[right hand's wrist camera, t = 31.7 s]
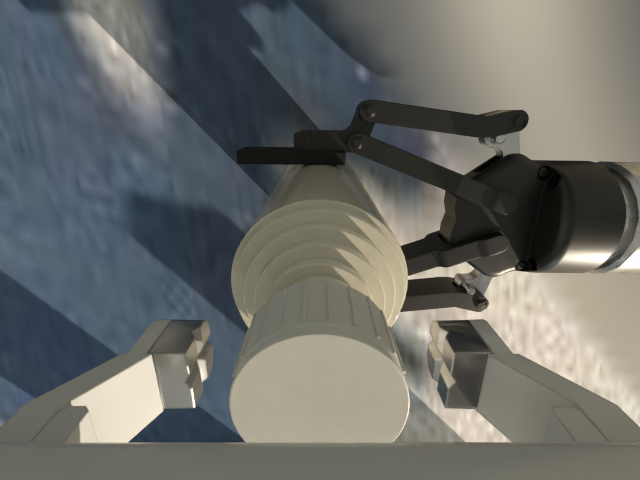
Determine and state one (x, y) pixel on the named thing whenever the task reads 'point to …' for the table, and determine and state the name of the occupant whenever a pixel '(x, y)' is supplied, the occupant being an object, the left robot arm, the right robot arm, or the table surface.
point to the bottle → (319, 242)
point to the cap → (319, 370)
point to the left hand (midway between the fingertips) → (246, 213)
